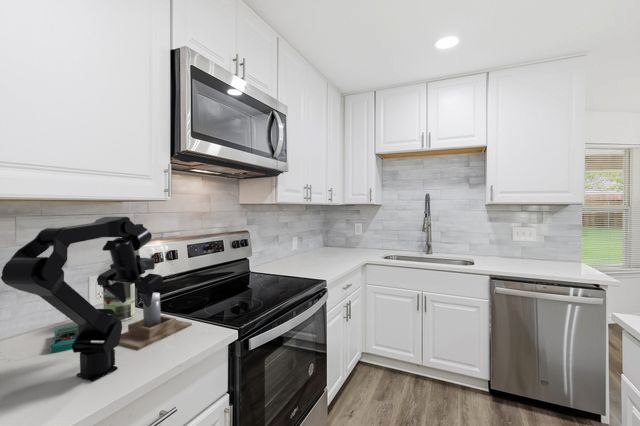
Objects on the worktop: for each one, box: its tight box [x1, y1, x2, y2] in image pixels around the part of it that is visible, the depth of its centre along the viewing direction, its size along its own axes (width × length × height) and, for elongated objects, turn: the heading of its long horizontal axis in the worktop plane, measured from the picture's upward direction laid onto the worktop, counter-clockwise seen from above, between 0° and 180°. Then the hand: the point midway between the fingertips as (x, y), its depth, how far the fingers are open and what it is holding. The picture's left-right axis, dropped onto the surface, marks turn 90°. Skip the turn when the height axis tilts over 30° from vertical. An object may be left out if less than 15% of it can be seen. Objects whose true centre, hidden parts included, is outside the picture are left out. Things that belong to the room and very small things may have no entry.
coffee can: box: [102, 283, 136, 322], centre depth 118 cm, size 10×10×14 cm
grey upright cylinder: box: [142, 292, 162, 328], centre depth 104 cm, size 5×5×12 cm
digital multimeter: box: [50, 325, 79, 354], centre depth 98 cm, size 7×15×3 cm, turn 36°
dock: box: [119, 315, 193, 351], centre depth 104 cm, size 20×14×4 cm
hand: (136, 304), depth 94 cm, fingers open, 9 cm apart
